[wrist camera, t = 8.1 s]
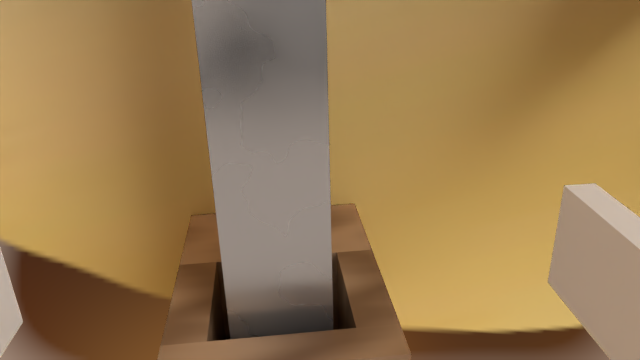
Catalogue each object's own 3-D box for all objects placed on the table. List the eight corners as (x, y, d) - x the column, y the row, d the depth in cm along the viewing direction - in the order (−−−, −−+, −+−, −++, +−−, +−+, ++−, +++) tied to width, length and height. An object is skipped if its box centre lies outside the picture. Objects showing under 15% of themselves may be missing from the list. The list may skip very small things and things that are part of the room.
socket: (354, 203, 27) (410, 353, 17) (354, 303, 30) (404, 486, 20) (191, 215, 27) (152, 378, 17) (205, 316, 29) (178, 513, 19)
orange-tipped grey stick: (301, -440, 14) (315, -559, 11) (325, 339, 24) (336, 403, 21) (155, -443, 14) (123, -568, 11) (240, 347, 24) (237, 413, 20)
